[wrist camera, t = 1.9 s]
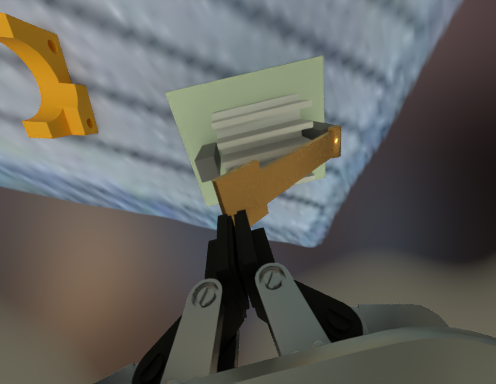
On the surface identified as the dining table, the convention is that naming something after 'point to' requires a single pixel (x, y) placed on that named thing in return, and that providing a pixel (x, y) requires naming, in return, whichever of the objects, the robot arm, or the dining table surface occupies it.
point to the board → (250, 119)
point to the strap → (273, 176)
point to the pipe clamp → (49, 82)
